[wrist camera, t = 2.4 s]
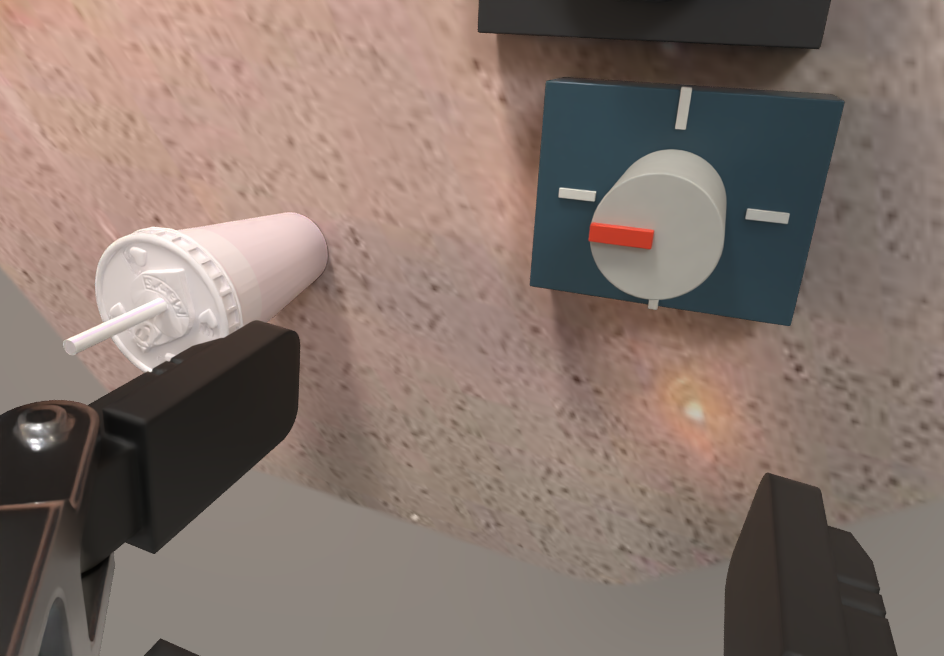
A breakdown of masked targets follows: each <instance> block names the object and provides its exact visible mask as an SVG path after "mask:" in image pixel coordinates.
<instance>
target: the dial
mask: <svg viewBox="0 0 944 656" xmlns="http://www.w3.org/2000/svg"><path fill="white" fill-rule="evenodd" d="M726 205H727V203H726V192H725V188H724V185H723V182H722V180H721V178H720V176H719V174H718V173H717V171H716V170H715V169H714V168H713V167H712V166H711V165H710V164H709V163H708V162H707V161H706V160H704V159H703V158H701V157H700V156H698V155H695V154H693V153H691V152H687V151H683V150H675V149H668V150H660V151H656V152H653V153H650V154H648V155H646V156H644V157H642V158H640V159H639V160H637V161H636V162H634V163H633V164H632V165H631V166H630V167H629V168H628V169H627V170H626V172H625V173H624V174H623V175H622V176H621V178H620V179H619V180H618V181H617V182H616V184H615V185H614V186H613V187H612V188H611V189H610V191H609V192H608V193H607V194H606V195H605V197H604V198H603V199H602V200H601V202H600V204H599V205H598V207H597V209H596V211H595V213H594V216H593V219H592V222H591V224H590V232H589V241H590V246H591V251H592V255H593V257H594V260H595V262H596V264H597V266H598V268H599V270H600V271H601V273H602V274H603V275H604V276H605V277H606V279H607V280H608V281H609V282H610V283H612V284H613V285H614V286H615V287H617V288H618V289H620V290H621V291H623V292H625V293H627V294H629V295H632V296H635V297H638V298H642V299H649V300H665V299H671V298H675V297H678V296H681V295H684V294H686V293H688V292H690V291H692V290H693V289H695V288H696V287H698V286H699V285H700V284H702V283H703V282H704V281H705V280H706V279H707V278H708V277H709V276H710V274H711V273H712V272H713V271H714V269H715V267H716V265H717V264H718V262H719V259H720V257H721V254H722V250H723V246H724V236H725V221H726Z"/></svg>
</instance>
